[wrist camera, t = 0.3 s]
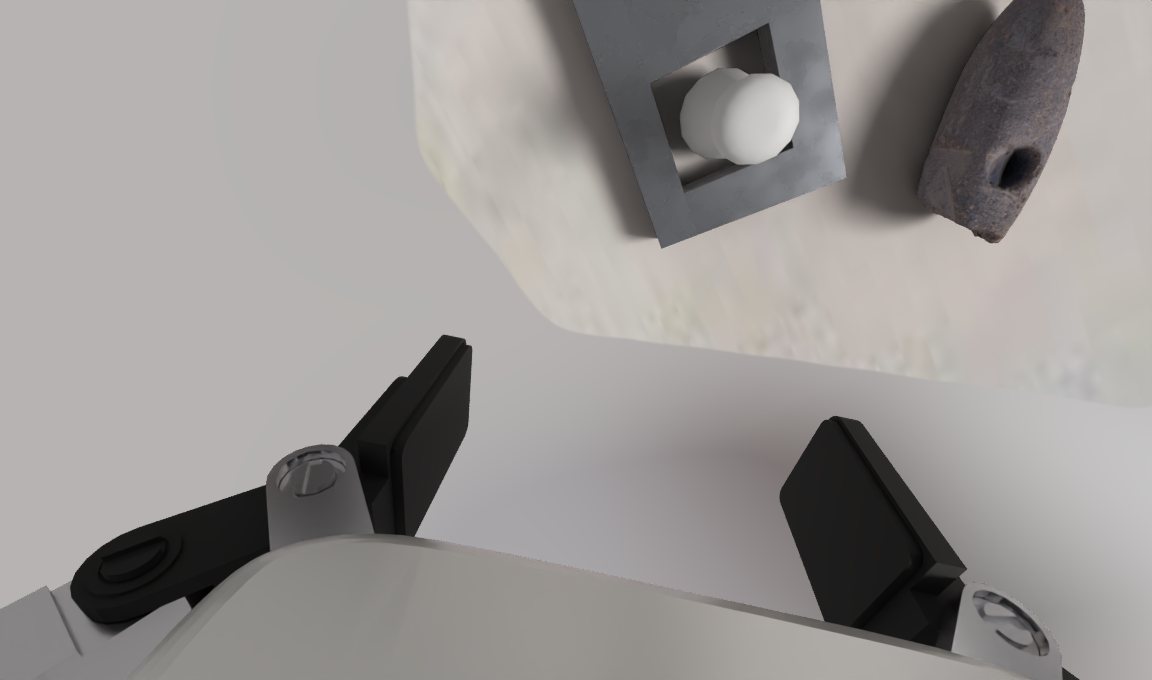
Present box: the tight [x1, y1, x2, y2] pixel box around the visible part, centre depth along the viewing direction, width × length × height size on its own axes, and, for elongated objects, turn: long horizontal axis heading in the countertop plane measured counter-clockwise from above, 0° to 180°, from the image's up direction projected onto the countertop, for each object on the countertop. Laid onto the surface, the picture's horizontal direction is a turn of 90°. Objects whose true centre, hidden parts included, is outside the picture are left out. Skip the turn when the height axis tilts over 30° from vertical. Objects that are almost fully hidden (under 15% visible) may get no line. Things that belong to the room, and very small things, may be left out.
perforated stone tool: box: [917, 0, 1085, 243], centre depth 28 cm, size 15×5×7 cm, turn 0°
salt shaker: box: [680, 68, 799, 165], centre depth 27 cm, size 6×6×13 cm
